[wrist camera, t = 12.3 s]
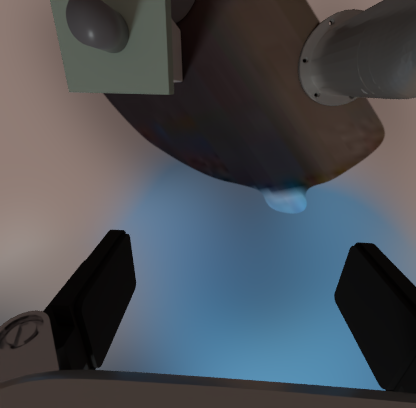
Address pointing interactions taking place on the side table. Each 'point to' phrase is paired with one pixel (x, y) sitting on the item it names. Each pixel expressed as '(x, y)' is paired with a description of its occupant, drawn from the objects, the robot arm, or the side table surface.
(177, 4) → the mat
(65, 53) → the square plate with knob
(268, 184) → the side table surface
